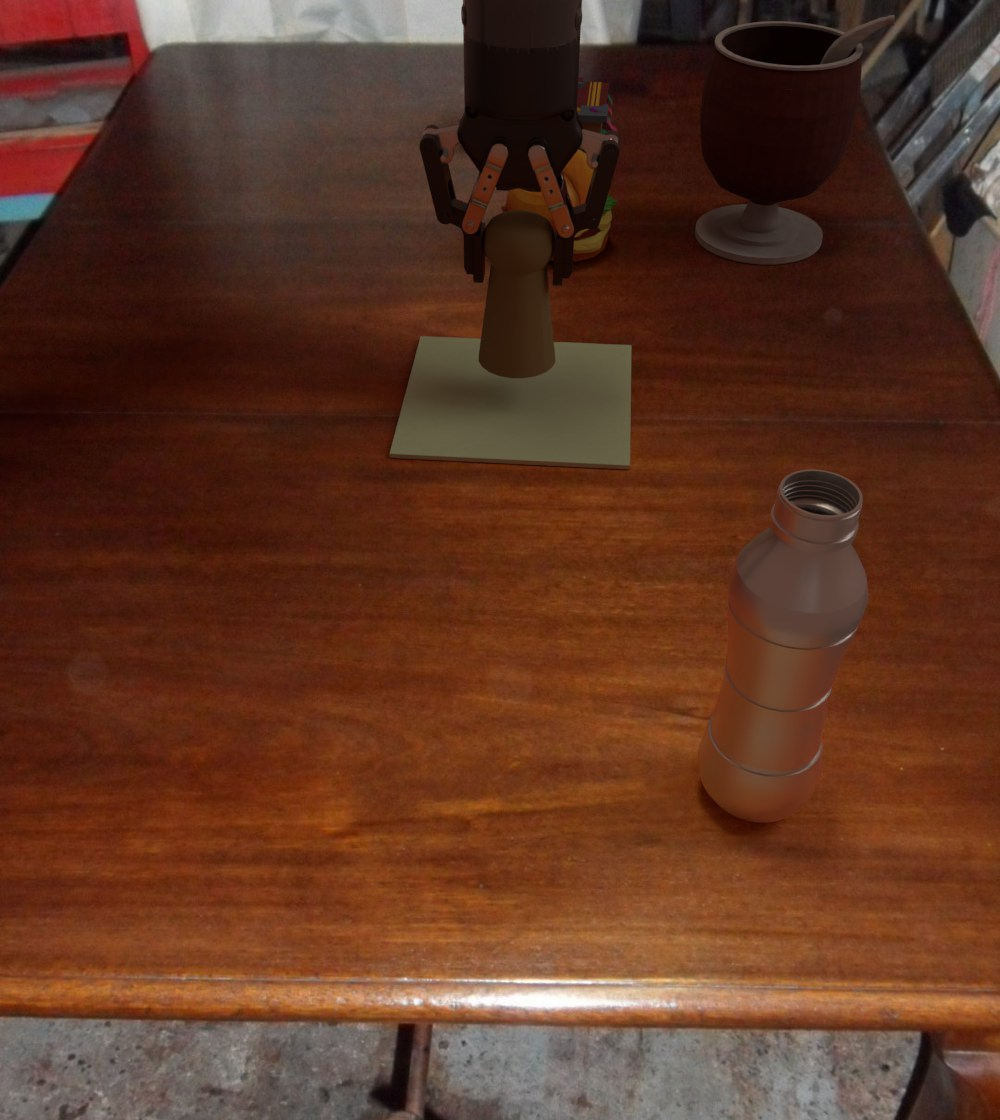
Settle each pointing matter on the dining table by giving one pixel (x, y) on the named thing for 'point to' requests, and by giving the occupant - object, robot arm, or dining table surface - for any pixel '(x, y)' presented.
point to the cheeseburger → (577, 186)
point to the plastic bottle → (785, 649)
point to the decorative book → (594, 106)
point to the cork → (518, 296)
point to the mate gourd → (776, 131)
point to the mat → (517, 408)
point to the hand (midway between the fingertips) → (518, 278)
